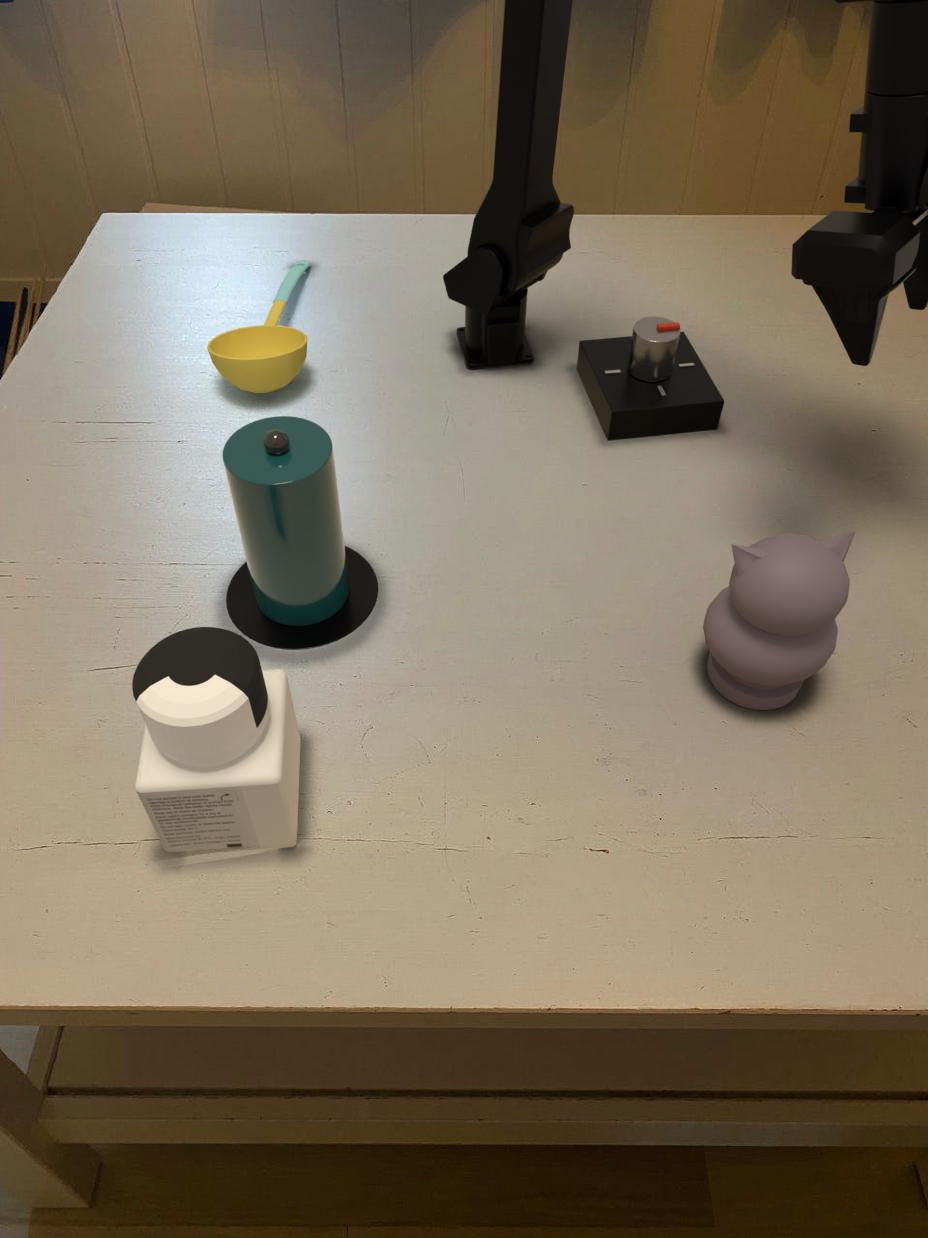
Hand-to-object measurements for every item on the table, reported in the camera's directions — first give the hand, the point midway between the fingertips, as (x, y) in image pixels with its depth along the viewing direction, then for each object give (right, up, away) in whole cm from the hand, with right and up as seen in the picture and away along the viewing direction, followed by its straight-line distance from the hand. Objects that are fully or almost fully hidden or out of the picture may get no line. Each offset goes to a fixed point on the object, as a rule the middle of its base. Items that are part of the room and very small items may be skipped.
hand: (890, 335), depth 65 cm
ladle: (-47, +9, +28) cm, 55 cm away
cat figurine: (-10, -23, 0) cm, 25 cm away
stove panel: (-13, +1, +21) cm, 25 cm away
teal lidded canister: (-41, -17, +4) cm, 45 cm away
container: (-43, -31, -7) cm, 54 cm away
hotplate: (-41, -18, +4) cm, 45 cm away
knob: (-13, +3, +19) cm, 23 cm away
